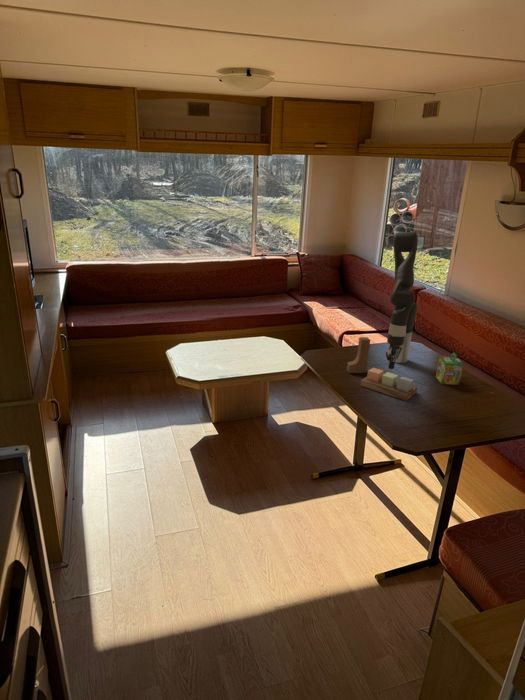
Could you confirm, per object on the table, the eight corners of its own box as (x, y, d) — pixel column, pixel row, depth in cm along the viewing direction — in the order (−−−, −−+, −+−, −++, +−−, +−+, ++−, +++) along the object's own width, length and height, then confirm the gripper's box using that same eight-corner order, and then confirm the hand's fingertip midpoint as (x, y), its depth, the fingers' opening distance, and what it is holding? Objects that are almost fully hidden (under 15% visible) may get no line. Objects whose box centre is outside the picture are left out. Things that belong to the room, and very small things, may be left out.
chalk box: (434, 377, 253) (440, 350, 248) (452, 377, 254) (458, 350, 248) (441, 384, 245) (446, 356, 239) (459, 385, 245) (465, 357, 240)
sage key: (386, 381, 239) (387, 371, 237) (396, 384, 236) (398, 375, 234) (381, 384, 235) (382, 375, 233) (391, 388, 231) (393, 378, 230)
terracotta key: (371, 376, 243) (373, 367, 241) (382, 380, 240) (383, 370, 238) (366, 380, 239) (368, 370, 237) (377, 383, 236) (378, 373, 234)
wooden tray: (372, 378, 247) (372, 372, 246) (416, 392, 234) (417, 386, 233) (360, 385, 238) (361, 379, 237) (406, 400, 225) (407, 394, 224)
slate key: (400, 386, 234) (402, 376, 233) (411, 389, 231) (413, 379, 230) (395, 389, 230) (397, 379, 229) (407, 393, 227) (408, 383, 225)
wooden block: (348, 373, 251) (353, 339, 245) (346, 369, 255) (350, 336, 249) (365, 373, 252) (370, 340, 246) (363, 369, 257) (367, 337, 250)
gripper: (395, 328, 233) (389, 362, 239) (382, 334, 223) (377, 369, 229) (410, 332, 229) (404, 367, 235) (398, 338, 219) (392, 374, 225)
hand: (391, 368), depth 232 cm, fingers closed
